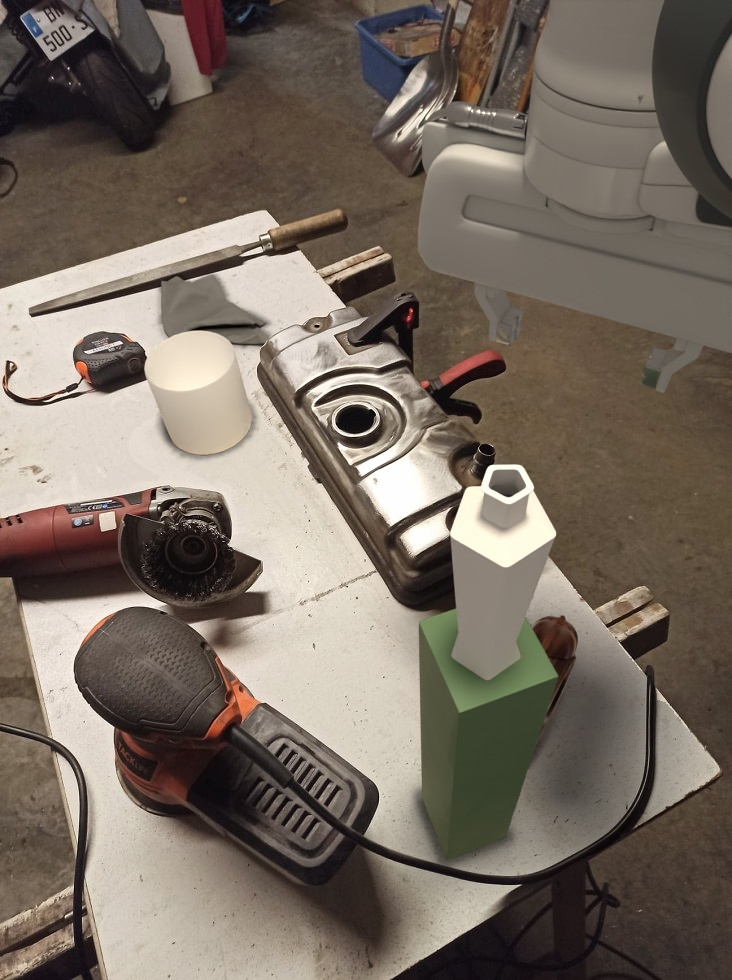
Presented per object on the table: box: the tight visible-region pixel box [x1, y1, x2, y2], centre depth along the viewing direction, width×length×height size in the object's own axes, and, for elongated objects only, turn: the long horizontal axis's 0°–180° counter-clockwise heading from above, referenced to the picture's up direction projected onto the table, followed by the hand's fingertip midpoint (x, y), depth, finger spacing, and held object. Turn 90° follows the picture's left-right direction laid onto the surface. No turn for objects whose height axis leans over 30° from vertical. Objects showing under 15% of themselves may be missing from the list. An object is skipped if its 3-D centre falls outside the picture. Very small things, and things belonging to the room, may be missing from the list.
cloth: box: [160, 274, 270, 345], centre depth 118 cm, size 26×14×2 cm, turn 36°
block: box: [418, 608, 558, 862], centre depth 56 cm, size 6×6×35 cm
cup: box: [143, 331, 253, 456], centre depth 99 cm, size 12×12×12 cm
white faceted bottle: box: [449, 464, 557, 680], centre depth 36 cm, size 5×4×15 cm
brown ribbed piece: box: [531, 614, 579, 740], centre depth 70 cm, size 11×5×15 cm, turn 147°
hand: (576, 359), depth 45 cm, fingers open, 8 cm apart
